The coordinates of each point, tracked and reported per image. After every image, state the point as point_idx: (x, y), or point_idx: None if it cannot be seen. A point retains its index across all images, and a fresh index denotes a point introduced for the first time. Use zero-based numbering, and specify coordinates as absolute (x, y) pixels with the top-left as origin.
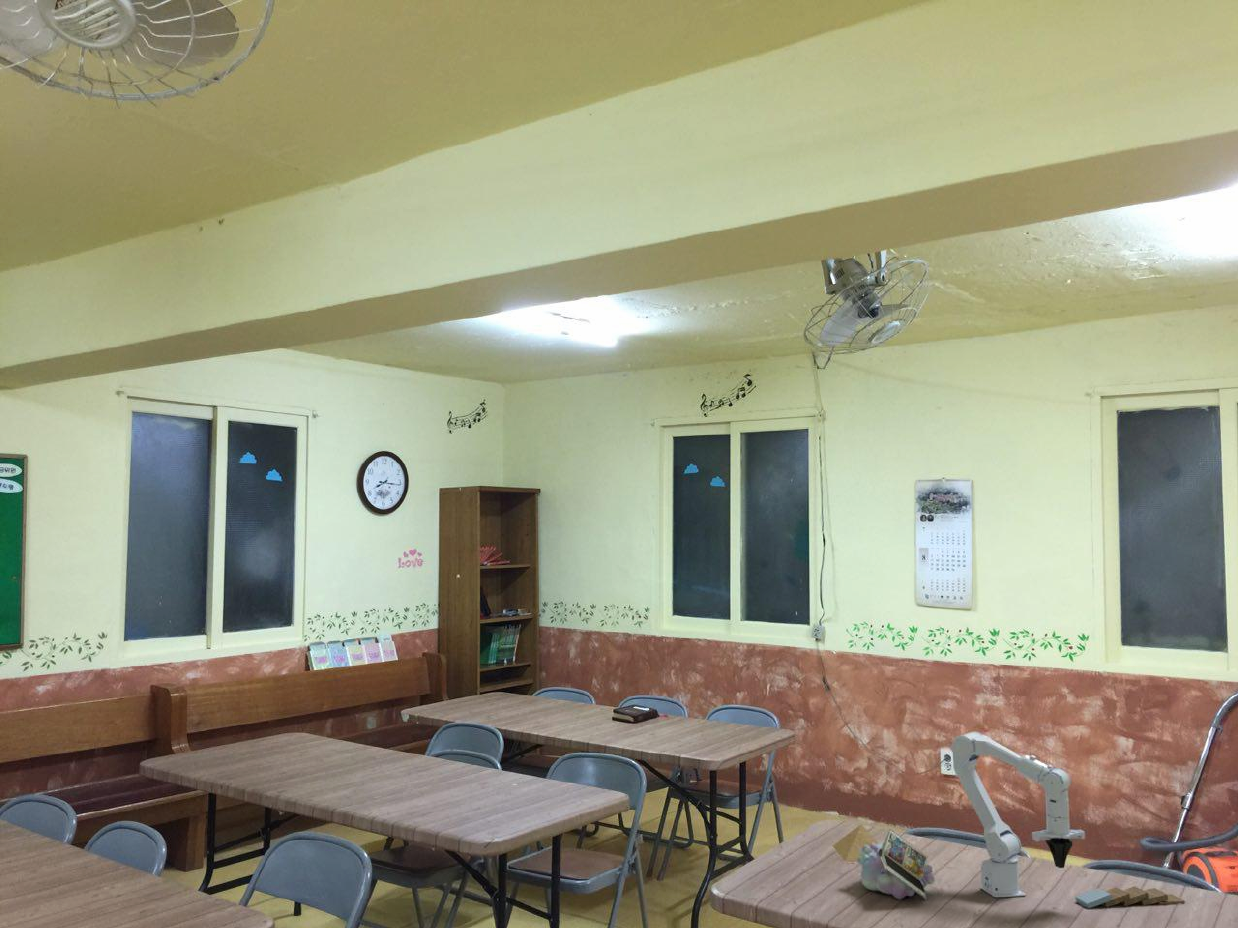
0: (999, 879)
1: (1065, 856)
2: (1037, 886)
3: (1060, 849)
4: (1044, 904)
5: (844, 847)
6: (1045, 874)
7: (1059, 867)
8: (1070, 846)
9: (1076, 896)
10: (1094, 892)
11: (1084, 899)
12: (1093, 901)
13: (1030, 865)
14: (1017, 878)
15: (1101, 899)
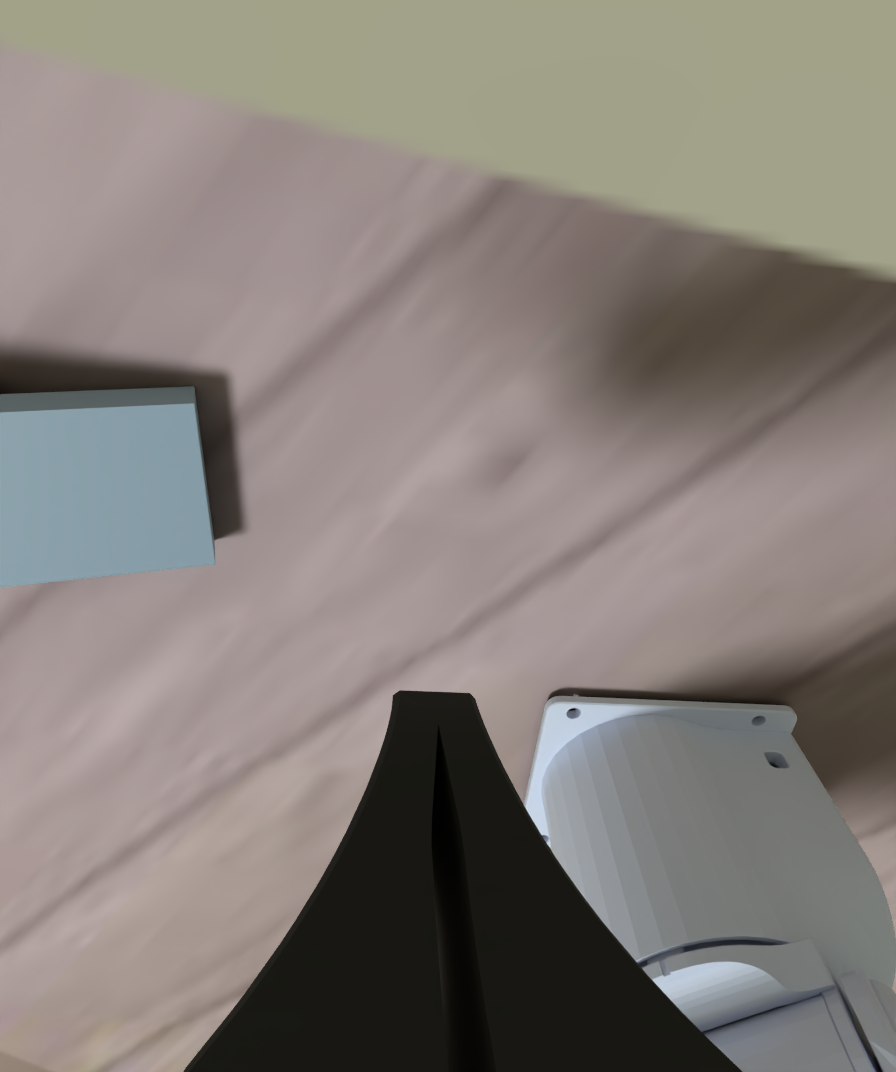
0: (785, 819)
1: (386, 823)
2: (328, 812)
3: (549, 971)
4: (531, 540)
5: None
6: (142, 940)
7: (474, 700)
8: (251, 1040)
9: (202, 563)
10: (8, 544)
11: (174, 481)
12: (116, 406)
13: (156, 1032)
14: (618, 817)
15: (10, 407)
